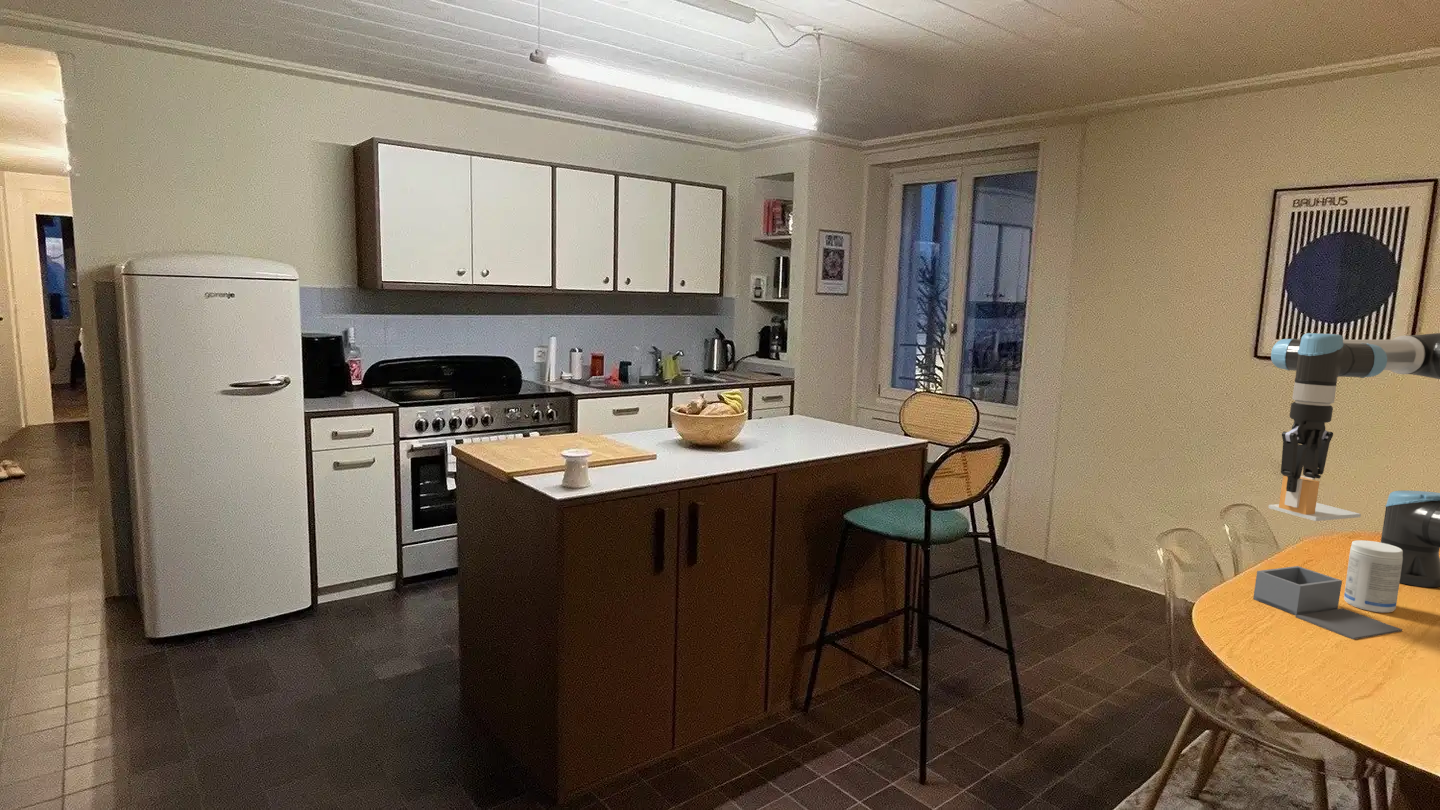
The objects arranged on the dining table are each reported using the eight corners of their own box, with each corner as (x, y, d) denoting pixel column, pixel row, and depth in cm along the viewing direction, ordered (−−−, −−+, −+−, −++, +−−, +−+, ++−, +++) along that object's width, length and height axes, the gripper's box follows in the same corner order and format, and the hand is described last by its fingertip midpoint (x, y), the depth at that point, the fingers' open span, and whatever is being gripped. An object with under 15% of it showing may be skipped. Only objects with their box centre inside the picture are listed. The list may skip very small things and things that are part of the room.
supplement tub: (1401, 609, 185) (1411, 548, 183) (1386, 617, 179) (1396, 555, 177) (1351, 595, 193) (1360, 537, 191) (1335, 602, 187) (1344, 542, 185)
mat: (1342, 609, 183) (1343, 608, 183) (1402, 631, 172) (1402, 629, 172) (1295, 617, 177) (1295, 615, 177) (1353, 639, 166) (1353, 637, 166)
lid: (1312, 504, 188) (1317, 470, 187) (1360, 517, 179) (1365, 481, 177) (1268, 508, 184) (1273, 473, 182) (1315, 521, 174) (1320, 484, 173)
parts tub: (1293, 593, 192) (1297, 565, 191) (1337, 609, 183) (1342, 580, 182) (1253, 599, 188) (1257, 570, 187) (1296, 615, 178) (1300, 586, 177)
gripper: (1319, 400, 182) (1304, 499, 185) (1270, 400, 176) (1255, 503, 180) (1354, 405, 175) (1339, 507, 178) (1304, 405, 169) (1289, 512, 173)
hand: (1297, 505), depth 179 cm, fingers closed on lid, 3 cm apart
